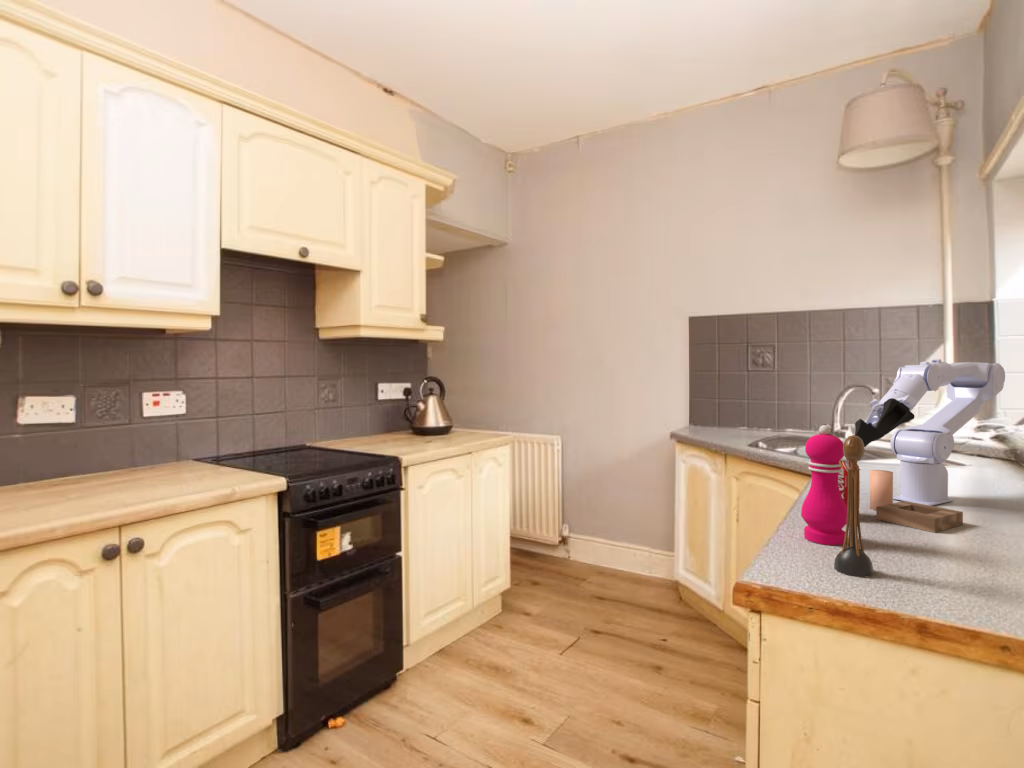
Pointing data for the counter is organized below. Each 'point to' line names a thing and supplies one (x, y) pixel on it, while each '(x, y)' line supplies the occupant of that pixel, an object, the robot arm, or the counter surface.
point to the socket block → (920, 516)
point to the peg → (881, 488)
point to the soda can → (845, 479)
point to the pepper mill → (824, 490)
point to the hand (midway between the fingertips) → (867, 439)
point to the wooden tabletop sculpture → (853, 517)
